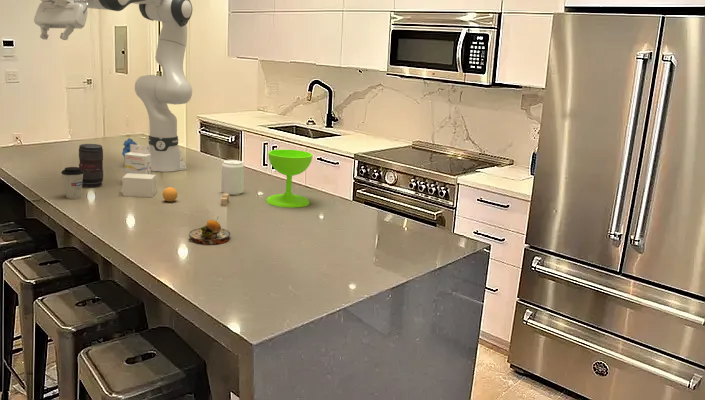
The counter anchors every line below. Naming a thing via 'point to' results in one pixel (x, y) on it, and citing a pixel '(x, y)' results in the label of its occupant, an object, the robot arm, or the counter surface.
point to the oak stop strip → (224, 199)
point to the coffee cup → (72, 182)
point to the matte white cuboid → (139, 185)
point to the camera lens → (91, 164)
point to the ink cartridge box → (138, 160)
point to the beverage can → (232, 177)
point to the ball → (169, 194)
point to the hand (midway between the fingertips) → (53, 39)
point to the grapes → (127, 146)
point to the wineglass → (289, 175)
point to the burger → (210, 234)
